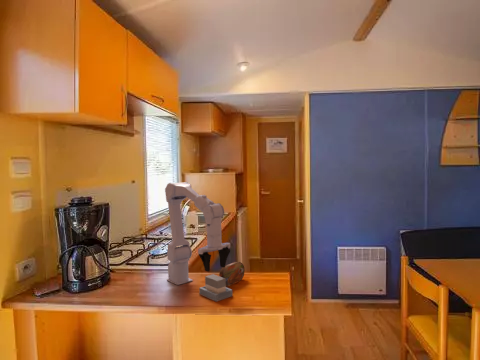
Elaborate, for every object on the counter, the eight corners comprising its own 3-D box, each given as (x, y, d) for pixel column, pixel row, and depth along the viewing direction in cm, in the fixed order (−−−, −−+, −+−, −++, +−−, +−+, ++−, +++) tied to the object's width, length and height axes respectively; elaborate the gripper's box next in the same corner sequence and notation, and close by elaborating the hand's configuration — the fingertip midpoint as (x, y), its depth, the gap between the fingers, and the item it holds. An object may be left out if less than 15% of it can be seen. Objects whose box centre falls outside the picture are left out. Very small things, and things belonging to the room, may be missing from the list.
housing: (217, 296, 134) (217, 281, 133) (205, 291, 140) (205, 276, 139) (225, 293, 136) (225, 278, 136) (213, 288, 142) (213, 274, 142)
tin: (223, 288, 145) (223, 268, 145) (218, 287, 147) (217, 267, 147) (245, 278, 157) (244, 260, 157) (239, 277, 159) (239, 259, 159)
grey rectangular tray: (199, 294, 139) (199, 287, 139) (215, 288, 145) (215, 283, 145) (216, 301, 131) (216, 295, 131) (232, 295, 136) (232, 289, 136)
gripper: (205, 239, 129) (206, 275, 130) (234, 233, 139) (235, 267, 139) (194, 236, 134) (195, 271, 135) (223, 231, 144) (224, 263, 145)
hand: (215, 269), depth 138 cm, fingers open, 7 cm apart
